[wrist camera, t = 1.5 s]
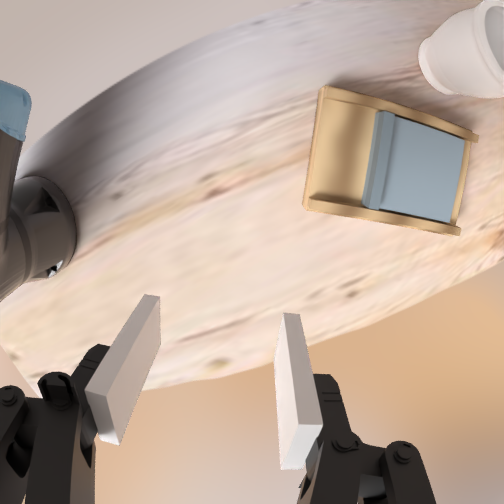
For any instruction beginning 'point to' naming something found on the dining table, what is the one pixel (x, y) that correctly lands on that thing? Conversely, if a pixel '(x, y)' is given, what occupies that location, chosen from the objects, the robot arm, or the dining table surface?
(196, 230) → the dining table surface
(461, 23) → the jar
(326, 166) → the slide box
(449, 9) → the dining table surface
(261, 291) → the dining table surface
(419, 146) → the cover plate
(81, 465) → the robot arm
